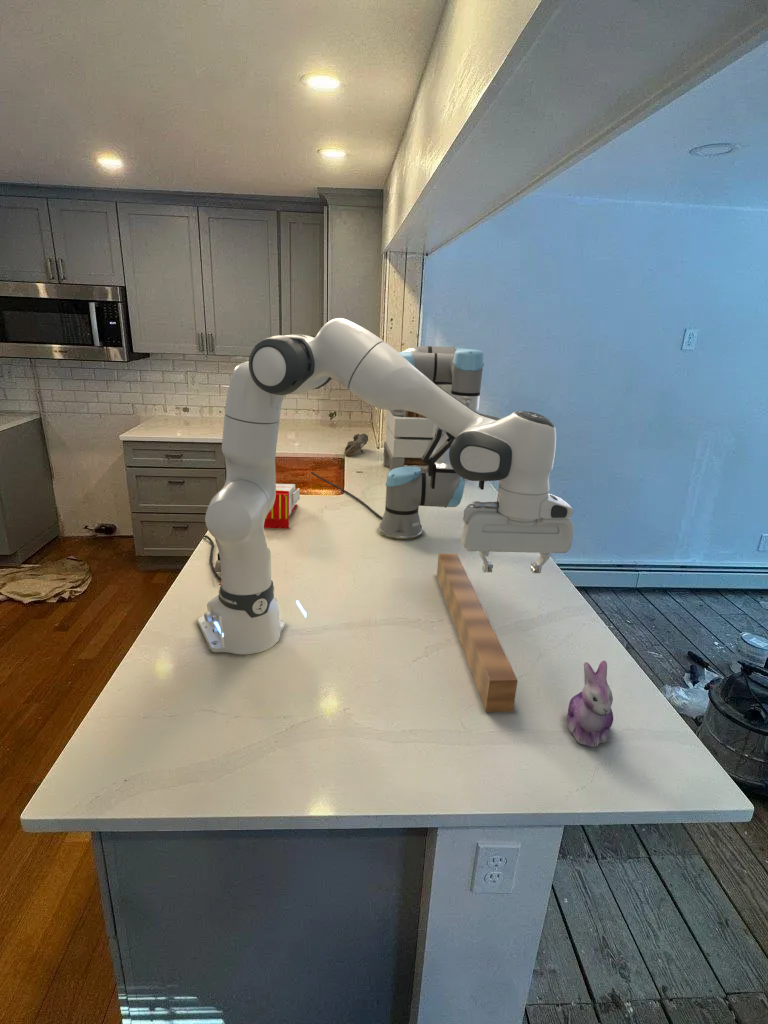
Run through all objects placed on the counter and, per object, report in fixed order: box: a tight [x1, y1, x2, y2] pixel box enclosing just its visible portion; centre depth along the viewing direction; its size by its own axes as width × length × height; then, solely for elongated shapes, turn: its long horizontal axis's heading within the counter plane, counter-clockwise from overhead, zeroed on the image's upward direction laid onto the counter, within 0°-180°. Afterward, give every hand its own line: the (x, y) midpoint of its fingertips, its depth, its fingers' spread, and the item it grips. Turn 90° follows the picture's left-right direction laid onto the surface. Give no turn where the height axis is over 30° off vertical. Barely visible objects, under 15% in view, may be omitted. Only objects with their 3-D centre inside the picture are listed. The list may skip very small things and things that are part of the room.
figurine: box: [566, 660, 614, 748], centre depth 106 cm, size 9×10×15 cm
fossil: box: [343, 432, 369, 457], centre depth 306 cm, size 22×10×15 cm
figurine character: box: [214, 552, 221, 574], centre depth 166 cm, size 7×8×15 cm
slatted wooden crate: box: [383, 410, 434, 472], centre depth 268 cm, size 34×33×41 cm
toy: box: [264, 483, 301, 530], centre depth 210 cm, size 12×13×30 cm
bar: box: [436, 553, 519, 713], centre depth 140 cm, size 60×6×8 cm, turn 4°
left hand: (511, 571), depth 107 cm, fingers open, 8 cm apart
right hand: (456, 487), depth 156 cm, fingers open, 13 cm apart
